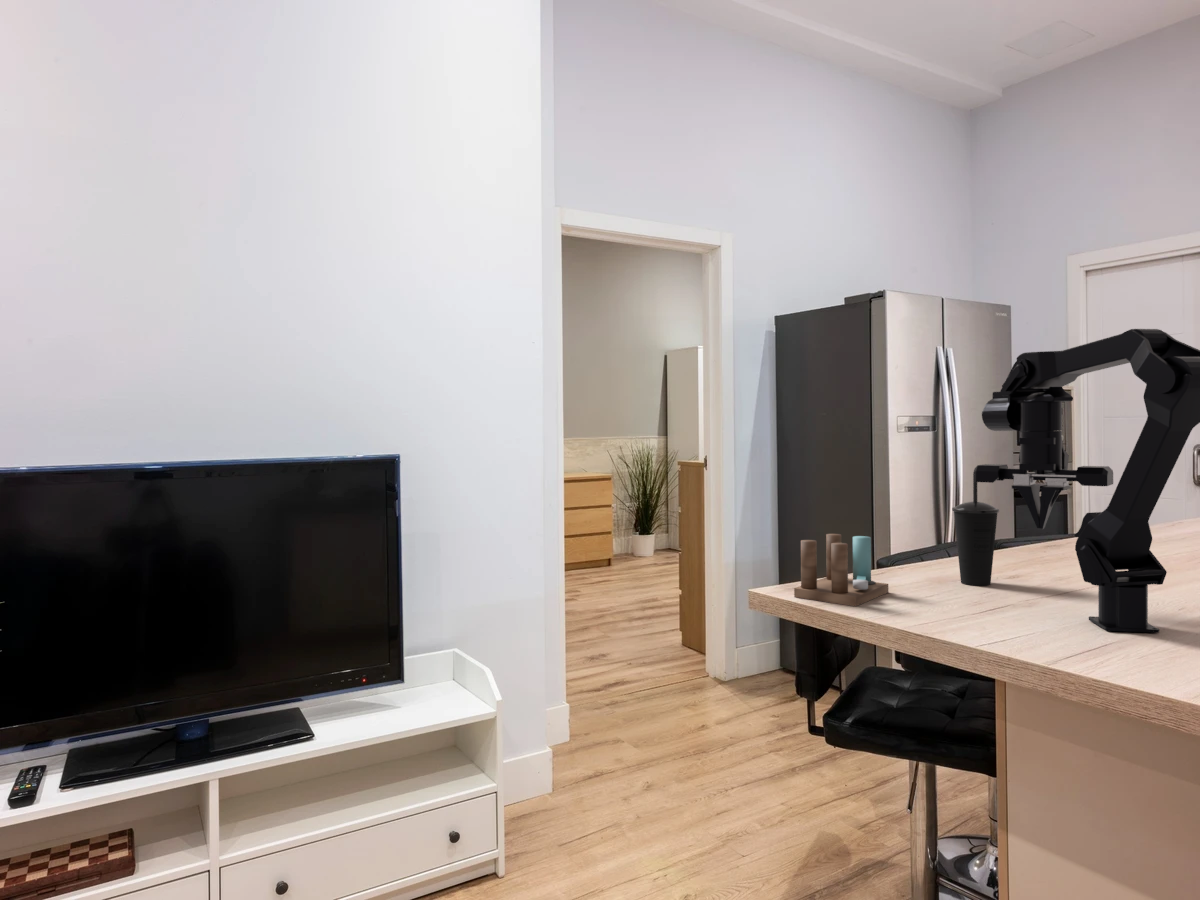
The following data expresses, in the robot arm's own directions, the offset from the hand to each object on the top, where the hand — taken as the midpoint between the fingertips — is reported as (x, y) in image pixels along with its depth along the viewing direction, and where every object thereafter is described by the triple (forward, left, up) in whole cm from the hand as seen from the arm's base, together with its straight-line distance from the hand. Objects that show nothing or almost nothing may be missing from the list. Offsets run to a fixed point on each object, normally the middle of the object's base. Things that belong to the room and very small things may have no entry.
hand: (1040, 528), depth 121 cm
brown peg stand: (+2, +30, -12) cm, 33 cm away
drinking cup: (+15, +6, -12) cm, 20 cm away
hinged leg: (+2, +27, -10) cm, 29 cm away
